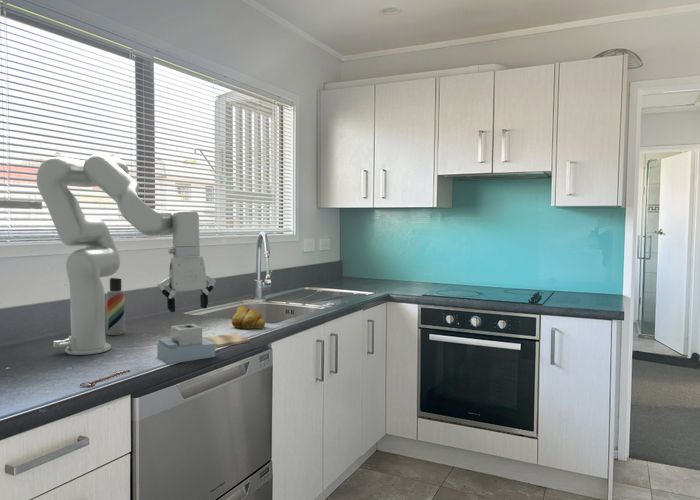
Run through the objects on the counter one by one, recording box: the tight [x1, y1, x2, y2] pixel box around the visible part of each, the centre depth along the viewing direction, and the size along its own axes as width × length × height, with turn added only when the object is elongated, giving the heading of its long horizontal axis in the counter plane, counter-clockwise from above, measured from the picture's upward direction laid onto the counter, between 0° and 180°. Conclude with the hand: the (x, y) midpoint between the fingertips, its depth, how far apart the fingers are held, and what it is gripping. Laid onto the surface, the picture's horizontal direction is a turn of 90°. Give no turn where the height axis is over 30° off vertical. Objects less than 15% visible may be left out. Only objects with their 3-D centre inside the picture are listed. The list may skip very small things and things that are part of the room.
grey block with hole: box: [170, 323, 203, 347], centre depth 158 cm, size 7×7×5 cm
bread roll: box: [231, 304, 266, 330], centre depth 201 cm, size 13×10×8 cm
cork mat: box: [202, 333, 251, 348], centre depth 179 cm, size 12×12×1 cm
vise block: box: [156, 328, 216, 365], centre depth 158 cm, size 14×10×8 cm
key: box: [79, 369, 131, 388], centre depth 136 cm, size 6×1×15 cm
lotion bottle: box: [106, 277, 126, 336], centre depth 187 cm, size 6×6×20 cm
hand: (188, 309), depth 158 cm, fingers open, 9 cm apart
